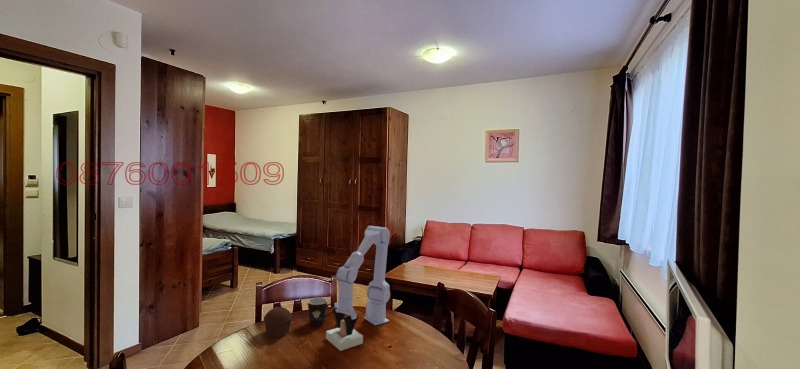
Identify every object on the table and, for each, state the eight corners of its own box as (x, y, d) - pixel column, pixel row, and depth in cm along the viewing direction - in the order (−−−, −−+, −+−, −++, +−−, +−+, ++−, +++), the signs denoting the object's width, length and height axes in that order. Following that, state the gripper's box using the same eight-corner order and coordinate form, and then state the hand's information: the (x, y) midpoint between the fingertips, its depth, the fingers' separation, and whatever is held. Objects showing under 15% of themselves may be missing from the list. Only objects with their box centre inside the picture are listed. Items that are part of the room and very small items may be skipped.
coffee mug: (303, 325, 143) (303, 302, 143) (313, 318, 151) (314, 296, 151) (326, 329, 139) (327, 306, 139) (336, 321, 148) (336, 300, 148)
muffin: (259, 331, 136) (259, 307, 136) (285, 324, 144) (285, 301, 144) (269, 342, 127) (270, 316, 127) (296, 334, 135) (297, 310, 135)
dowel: (338, 340, 131) (338, 320, 131) (345, 338, 133) (346, 318, 133) (342, 343, 128) (343, 323, 128) (349, 341, 130) (350, 321, 130)
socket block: (325, 338, 132) (326, 331, 132) (347, 331, 138) (347, 324, 138) (340, 350, 123) (340, 343, 123) (362, 343, 129) (363, 335, 129)
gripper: (328, 293, 133) (327, 326, 133) (345, 304, 122) (344, 340, 122) (343, 290, 138) (342, 322, 138) (361, 301, 127) (360, 335, 127)
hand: (344, 330), depth 130 cm, fingers open, 7 cm apart
